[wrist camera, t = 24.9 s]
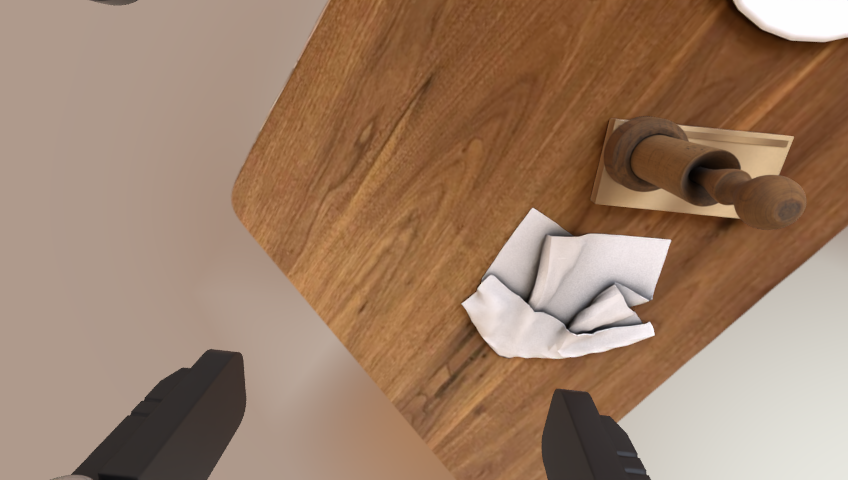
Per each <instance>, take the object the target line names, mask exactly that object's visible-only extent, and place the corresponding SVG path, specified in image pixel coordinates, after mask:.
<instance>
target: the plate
mask: <svg viewBox="0 0 848 480" xmlns="http://www.w3.org/2000/svg"><path fill="white" fill-rule="evenodd" d="M732 2H733V3H734V5H735V7H736V9H737V10H738V11H739V12H740V13H742V14H743V15H744V16H745V17H746V18H747V19H749V20H750V21H751V22H752V23H753V24H755V25H756V26H757V27H758V28H759V29H760V30H763V31H766V32H768V33H771V34H774V35H776V36H779V37H782V38H784V39H787V40H790V41H809V42H827V41H832V40H837V39H841V38H846V37H848V0H732Z"/></svg>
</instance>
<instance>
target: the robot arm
mask: <svg viewBox="0 0 848 480" xmlns="http://www.w3.org/2000/svg"><path fill="white" fill-rule="evenodd" d="M245 407H246V390H245V378H244V364H243V356H242V354H241V353H239V352H231V351H222V350H213V349H210V350H207V351H206V352H205V353H204V354H203V355H202V356H201V357H200V358H199V360H198V361H197V362H196V363H195V364H194V365H193V366H192V367H191V368H181V369H179V370H178V371H176V372H174V373H173V374H171V375H169V376H168V377H166V378H165V379H163V380H161V381H160V382H159V383H158V384H157V385H156V386H155V387H154V389H152V391H151V392H150V393H149V394H148V395H147V396H146V397H145V400H144V401H141V402H140V403H139V404H138V405H137V406H136V407H135V408H134V409H133V411H132V412H131V415H130V416H127V417H126V418H125V419H124V420H123V421H122V422H121V423H120V424H119V425H118V426H117V427H116V428H115V429H114V430H113V431H112V432H111V434H110V435H109V436H108V437H107V438H106V439H105V440H104V441H103V442H102V443H101V444H100V445H99V446H98V447H97V448H96V449H95V450H94V451H93V452H92V453H91V455H89V457H88V458H87V459H86V460H85V461H84V462H83V463H82V464H81V465H80V466H79V467H78V468H77V469H76V470H75V471H74V472H73V473H72V474H71V475H67V476H61V477H57V478H54V479H51V480H207V479H208V477H209V475H210V474H211V472H212V471H213V468H214V467H215V466H216V464H217V462H218V460H219V459H220V457H221V456H222V454H223V452H224V450H225V449H226V447H227V445H228V444H229V442H230V441H231V439H232V437H233V435H234V434H235V432H236V430H237V429H238V427H239V425H240V423H241V421H242V419H243V416H244V412H245ZM542 457H543V462H544V466H545V470H546V474H547V478H548V480H651V479H650V477H649V476H648V475H646V469H645V468H644V466H643V464H642V462H641V460H640V458H638V457H637V452H636V450H635V448H634V446H633V445H632V443H631V441H630V439H629V437H628V435H627V434H626V432H625V431H624V430H623V429H622V428H621V427H620V426H619V425H618V424H617V423H616V422H615V421H614V420H613V419H612V418H611V417H610V416H603V415H599V413H598V411H597V408H596V406H595V404H594V402H593V400H592V398H591V396H590V394H589V393H588V392H583V391H574V390H565V389H556V390H555V391H554V394H553V397H552V401H551V404H550V408H549V412H548V416H547V420H546V423H545V427H544V431H543V435H542Z"/></svg>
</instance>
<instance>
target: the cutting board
mask: <svg viewBox="0 0 848 480" xmlns="http://www.w3.org/2000/svg"><path fill="white" fill-rule="evenodd" d="M627 121H629V120H624V119H614V118H610V120H609V124H608V128H607V132H606V137H605V141H604V145H603V149H602V153H601V157H600V161H599V166H598V170H597V174H596V178H595V182H594V186H593V190H592V195H591V199H590V200H591V201H592V202H593V203H595V204H601V205H611V206H620V207H630V208H640V209H650V210H660V211H670V212H679V213H689V214H699V215H709V216H719V217H728V218H738V219H740V218H739V217H738V215H737V213H736V211H735V208H734V205H722V204H720V203H717V204H715V205H712V206H706V207H700V206H695V205H692V204H690V203H688V202H686V201H685V200H683V199H681V198H679V197H677V196H675V195H673V194H671V193H669V192H667V191H665V190H663V189H658V190H655V191H650V192H638V191H633V190H630V189H628V188H626V187H624V186H623V185H621V184H619V183H617V182H616V181H615V180H613V179H612V178H611V177H610V175H609V174H608V172H607V170H606V168H605V165H604V149H605V146H606V143H607V141H608V139H609V137H610V136H611V135H612V133H613V132H614V131H615V130H616V129H617V128H618V127H619V126H620V125H622V124H623V123H625V122H627ZM678 126H680V127H681V128H682V129H683V131H684V132H685V133H686V135H687V137H688V140H689V142H693V143H697V144H701V145H706V146H710V147H715V148H719V149H723V150H727V151H729V152H731V153H732V154H734V155H735V156H736V157H737V159H738V160H739V162H740V165H741V170H743V171H745V172H747V173H748V174H749V175H750V176H751V178H752V179H753V178H756V177H759V176H764V175H779V173H780V171H781V168H782V166H783V163H784V161H785V158H786V156H787V153H788V151H789V148H790V146H791V143H792V141H793V138H794V137H793V136H787V135H779V134H768V133H758V132H748V131H737V130H727V129H717V128H707V127H696V126H686V125H678Z"/></svg>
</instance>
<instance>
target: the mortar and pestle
mask: <svg viewBox="0 0 848 480" xmlns="http://www.w3.org/2000/svg"><path fill="white" fill-rule="evenodd" d="M604 165H605V168H606V170H607V172H608V174H609V175H610V177H611V178H612V179H613V180H615V181H616V182H617V183H619V184H621V185H623V186H624V187H626V188H628V189H630V190H633V191H638V192H650V191H655V190H658V189H663V190H665V191H667V192H669V193H671V194H673V195H675V196H677V197H679V198H681V199H683V200H685V201H686V202H688V203H690V204H692V205H695V206H700V207H706V206H712V205H715V204H717V203H720V204H722V205H734V208H735V211H736V213H737V215H738V217H739V218H740V219H741V220H742V221H743V222H744V223H746V224H747V225H749V226H751V227H753V228H757V229H761V230H775V229H780V228H784V227H786V226H788V225H790V224H792V223H794V222H795V221H796V220H797V219H798V218H799V217H800V216H801V215H802V214H803V212H804V210H805V207H806V195H805V193H804V191H803V189H802V188H801V186H800V185H799V184H797V183H796V182H795V181H793V180H791V179H789V178H787V177H784V176H780V175H764V176H759V177H756V178H753V179H752V178H751V176H750V175H749V174H748V173H747V172H745V171H743V170H741V165H740V162H739V160H738V159H737V157H736V156H735V155H734V154H732V153H731V152H729V151H727V150H723V149H719V148H715V147H710V146H706V145H701V144H697V143H693V142H689V140H688V137H687V135H686V133H685V132H684V131H683V129H682V128H681V127H680V126H678V125H677V124H675V123H674V122H672V121H669V120H667V119H662V118H657V117H650V116H643V117H637V118H634V119H631V120H629V121H627V122H625V123H623V124H622V125H620V126H619V127H618V128H617V129H616V130H615V131H614V132H613V133H612V135H611V136H610V137H609V139H608V141H607V143H606V146H605V149H604Z"/></svg>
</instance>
